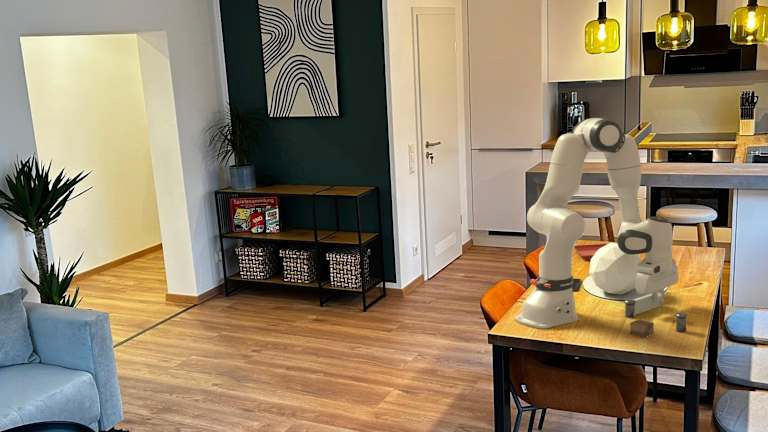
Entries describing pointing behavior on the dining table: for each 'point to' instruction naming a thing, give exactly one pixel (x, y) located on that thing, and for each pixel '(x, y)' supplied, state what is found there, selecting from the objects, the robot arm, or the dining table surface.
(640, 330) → the walnut block
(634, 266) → the geometric orb
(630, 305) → the gate posts
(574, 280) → the phone
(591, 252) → the plant saucer
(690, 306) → the dining table surface
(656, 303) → the bar
